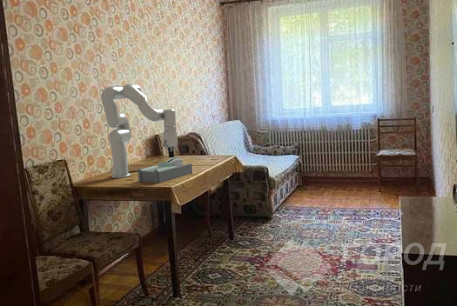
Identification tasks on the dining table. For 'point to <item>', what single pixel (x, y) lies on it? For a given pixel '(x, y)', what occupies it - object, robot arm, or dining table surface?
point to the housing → (164, 174)
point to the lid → (160, 167)
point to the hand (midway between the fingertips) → (171, 157)
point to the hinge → (176, 161)
